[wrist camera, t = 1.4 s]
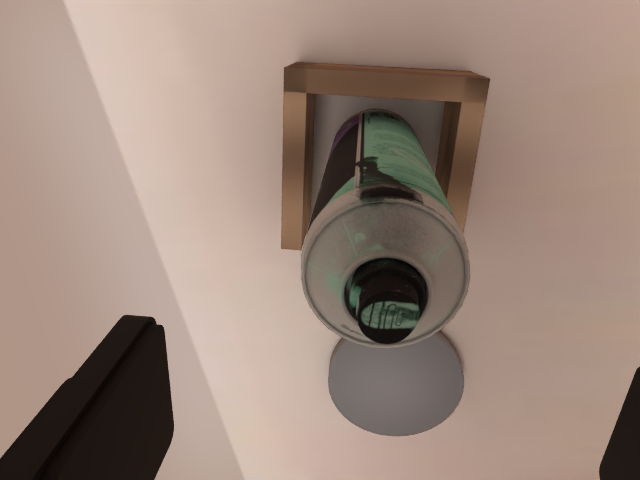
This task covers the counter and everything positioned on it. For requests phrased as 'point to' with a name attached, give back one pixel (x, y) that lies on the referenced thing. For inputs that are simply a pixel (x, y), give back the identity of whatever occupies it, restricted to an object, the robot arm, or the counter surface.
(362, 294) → the spray can
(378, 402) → the mat
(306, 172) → the frame
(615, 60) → the counter surface
